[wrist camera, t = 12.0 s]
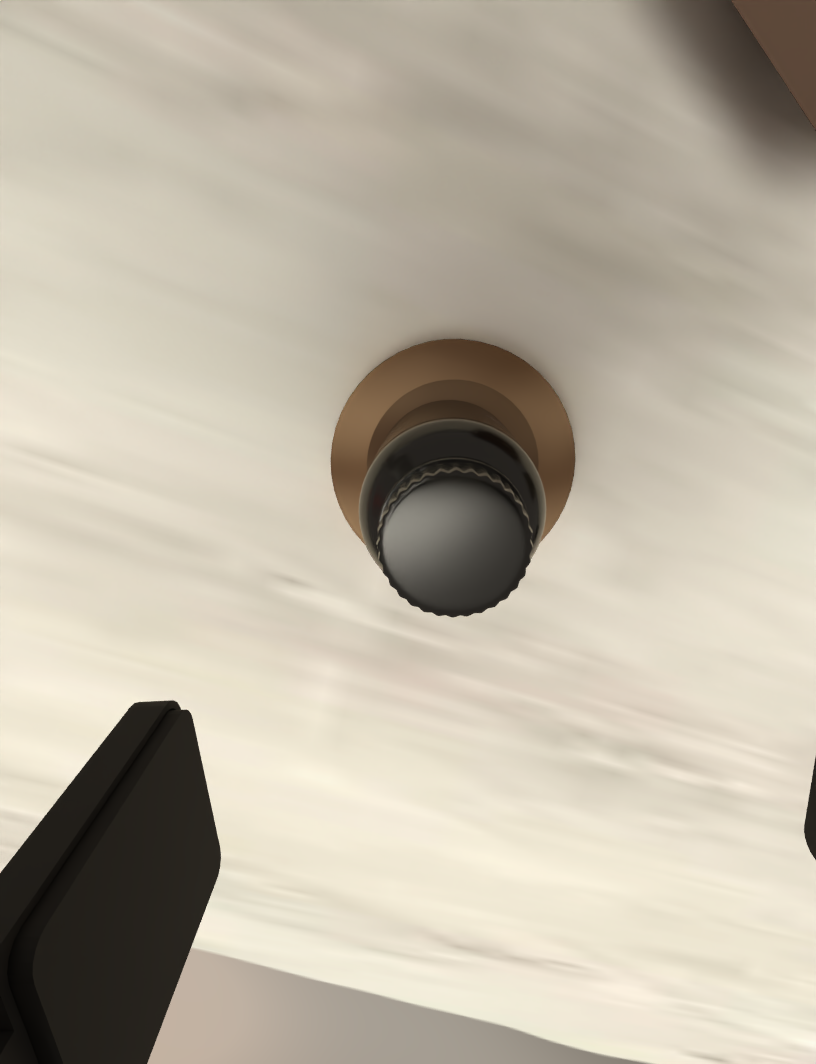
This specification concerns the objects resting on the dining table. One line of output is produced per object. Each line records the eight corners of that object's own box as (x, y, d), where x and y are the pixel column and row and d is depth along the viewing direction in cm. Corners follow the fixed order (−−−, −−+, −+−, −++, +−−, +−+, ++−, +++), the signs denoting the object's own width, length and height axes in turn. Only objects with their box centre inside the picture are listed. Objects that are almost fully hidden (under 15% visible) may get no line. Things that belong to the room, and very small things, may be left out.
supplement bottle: (535, 416, 29) (605, 470, 17) (494, 547, 31) (532, 672, 20) (395, 380, 29) (372, 410, 17) (363, 515, 31) (323, 622, 19)
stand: (324, 348, 30) (316, 349, 28) (567, 329, 30) (578, 329, 28) (348, 571, 34) (343, 587, 32) (565, 559, 33) (574, 574, 31)
